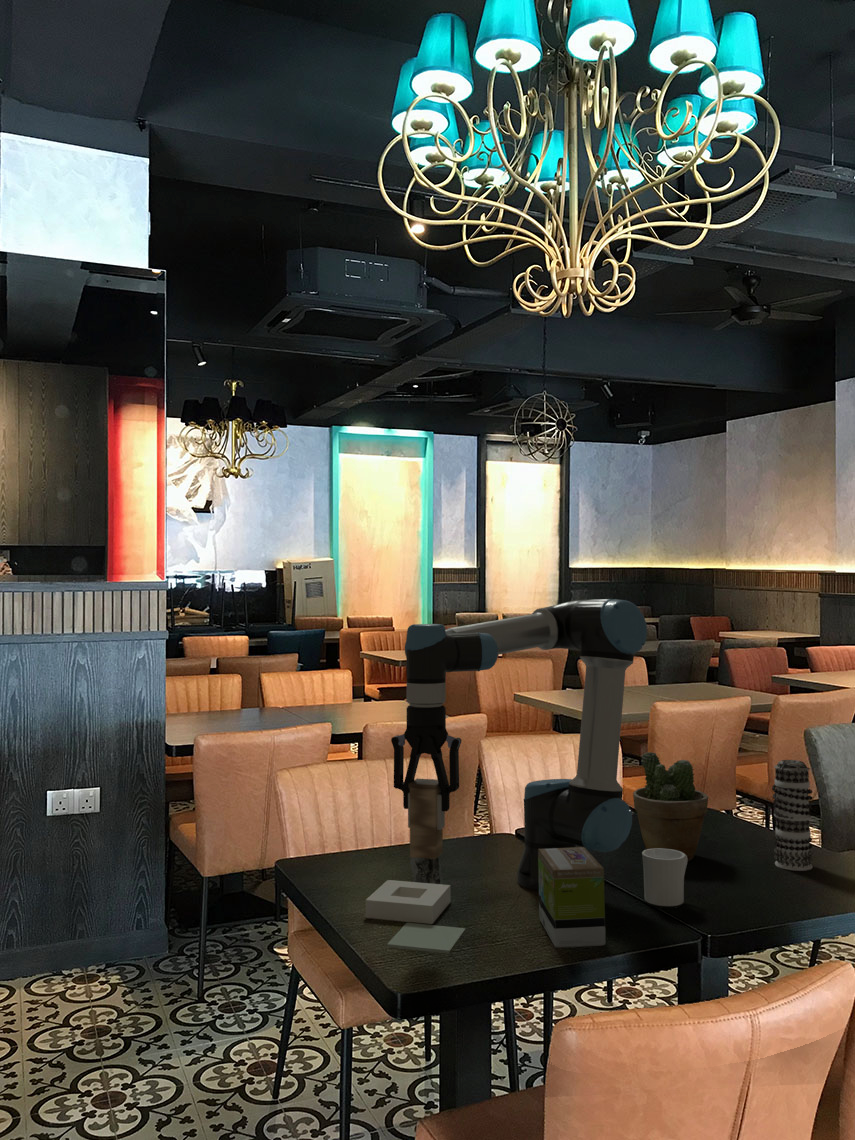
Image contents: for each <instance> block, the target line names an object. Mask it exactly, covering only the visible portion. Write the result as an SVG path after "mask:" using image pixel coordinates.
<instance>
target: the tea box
mask: <svg viewBox="0 0 855 1140" xmlns="http://www.w3.org/2000/svg"><path fill="white" fill-rule="evenodd" d="M538 869H539V891H538V901H539V903H538V908H539V912H538V913H539V914H538V915H539V920H540V923H541V924H542V926H543V929H544V931H545V932H546V933H547V935H548V937H549V939H550V941H551V942H552V944H553V946H554V947H555V948H578V947H580V948H581V947H599V946H606V902H605V900H606V899H605V894H606V892H605V891H606V890H605V868H604V867H603V866H602V865H601V864H600V863H599V861H598V860H597V859H596V858H595V857H594V856H593V855H592V854H591V853H590V852H589V851H588V849H586V848H585V847H581V846H576V847H572V848H551V849H538Z"/></svg>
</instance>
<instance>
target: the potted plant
mask: <svg viewBox="0 0 855 1140" xmlns="http://www.w3.org/2000/svg"><path fill="white" fill-rule="evenodd" d="M641 758H642V759H641V763H642V767H643V768H644V774H645V779H644V780H645V784H646V785H644V787H640V788H637V789H636V790H634V791H633V792H632V798H633V808H634V810H635V812H636V814H637V818H638V822H639V823H638V824H639V827H640V833H641V836H642V840H643V843H644V846H645V850H647V849H654V848H663V849H672V850H677V851H680V852H682V853H684V854H685V855H687V858H688V862H690V861H691V860H693V859H694V858H695V855H696V851H697V847H698V844H699V841H700V838H701V833H702V828H703V825H704V824H703V823H704V818H705V816H706V814H707V812H708V804H709V802H708V801H709V795H708V794H707V793H705V792H703V791H700V790H696V786H695V784H694V782H695V780H694V777H695V776H694V775H695V773H694V772H693V771H694V768H693V767H694V766H693V764H692V763H691V762H690V761H689V760H688V759H679V760H677V761H676V762H674V763H673V765H671V766H669V768H668V769H666V766H665V765H664V764H662V763H661V762H660V757H658V755H657V753H656V752H651V751H649V752H645V753H644V754H642V756H641Z"/></svg>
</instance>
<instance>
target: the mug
mask: <svg viewBox="0 0 855 1140" xmlns="http://www.w3.org/2000/svg"><path fill="white" fill-rule="evenodd" d="M641 856H642V865H643V888H644V895H643V896H644V903H645V902H646V903H647V904H646V905H648V906H650V907H652V906H655V907H654V908H656V907H662V908H674V909H676V908H675V907H679V908H681V907H683V905H684V902H685V901H684V900H685V898H684V897H685V895H684V894H685V893H684V892H685V889H684V887H685V886H684V885H685V874H686V869H687V865H688V862H689V861H688V858H687V855H685V854H684V853H682V852H680V851H677V850H672V849H663V848H654V849H644V850H643V851H642V852H641ZM680 906H681V907H680ZM662 908H661V909H662Z"/></svg>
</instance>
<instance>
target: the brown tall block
mask: <svg viewBox="0 0 855 1140" xmlns="http://www.w3.org/2000/svg"><path fill="white" fill-rule="evenodd" d="M409 788H410V828H409V857H414V858H427V859H436V858H437V857H438V858H439V857H440V856H441V855H442V854H443V849H444V848H443V847H444V845H443V840H444V839H443V837H444V836H443V829H444V828H443V829H441V830H437V795H438V794H439V793H440V792H441V791H440V787H439V783H438V779H435V778H433V779H432V778H416V779H414V781H412V782H410V783H409Z"/></svg>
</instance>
